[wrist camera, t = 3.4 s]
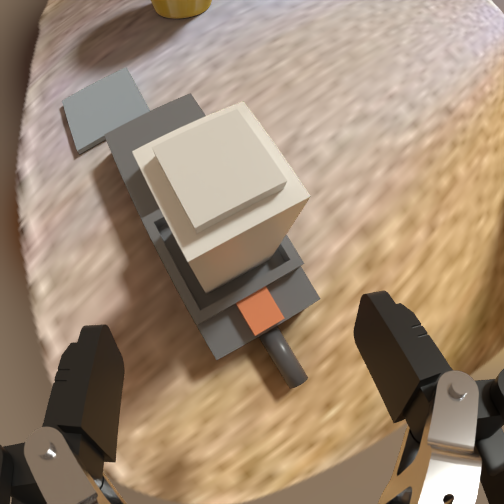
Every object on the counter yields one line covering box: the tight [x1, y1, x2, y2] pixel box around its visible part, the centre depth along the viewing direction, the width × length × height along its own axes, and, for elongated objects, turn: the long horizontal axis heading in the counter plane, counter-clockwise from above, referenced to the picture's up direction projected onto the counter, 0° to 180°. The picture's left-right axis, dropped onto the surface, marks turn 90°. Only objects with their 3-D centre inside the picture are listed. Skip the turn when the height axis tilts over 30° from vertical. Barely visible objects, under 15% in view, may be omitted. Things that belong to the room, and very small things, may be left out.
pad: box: [62, 67, 150, 154], centre depth 24 cm, size 7×7×1 cm
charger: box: [132, 101, 311, 295], centre depth 15 cm, size 4×4×11 cm
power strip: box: [104, 93, 320, 388], centre depth 21 cm, size 7×22×4 cm, turn 30°
